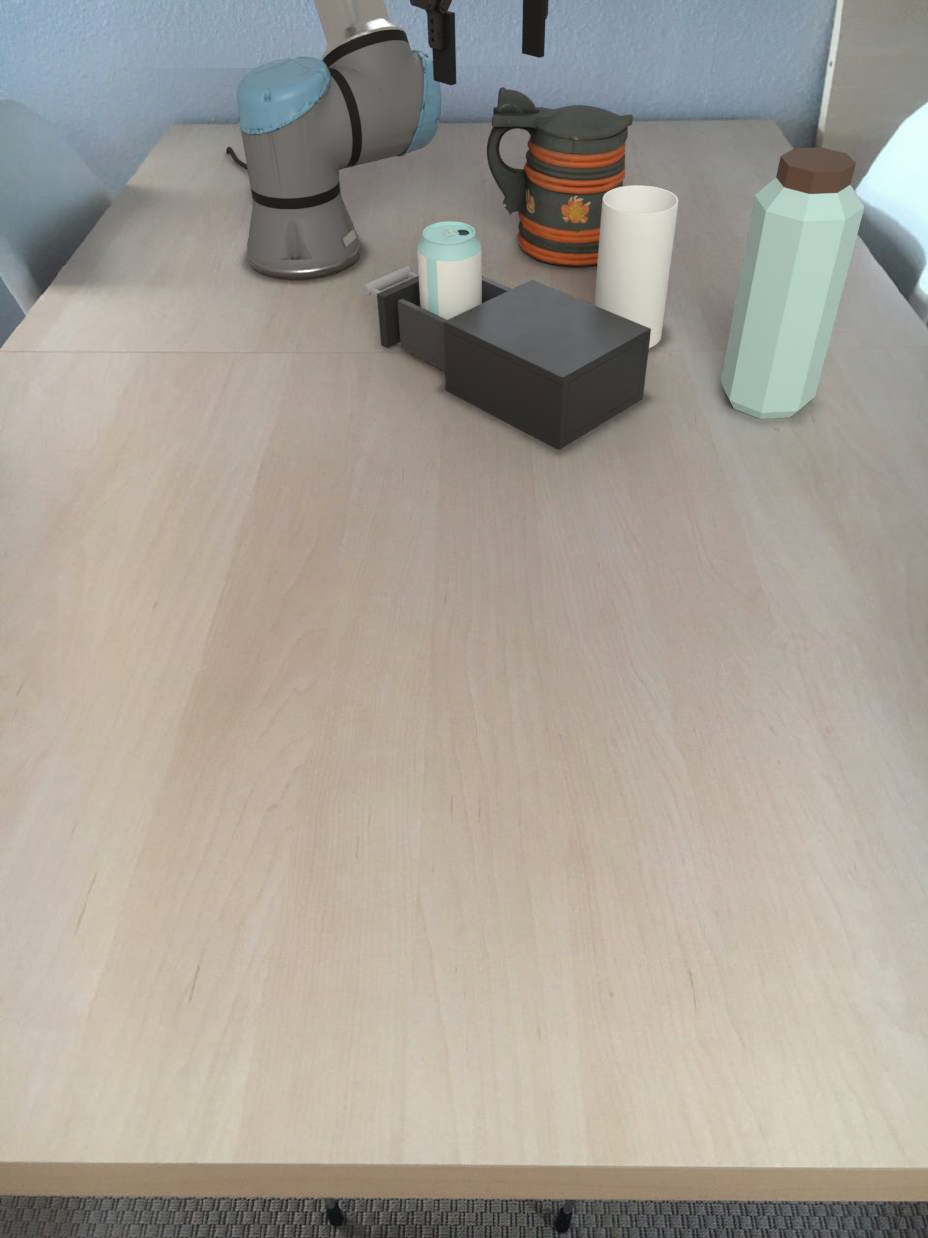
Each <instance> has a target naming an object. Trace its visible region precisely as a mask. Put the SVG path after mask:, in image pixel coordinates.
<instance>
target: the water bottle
mask: <svg viewBox="0 0 928 1238" xmlns="http://www.w3.org/2000/svg"><path fill="white" fill-rule="evenodd" d="M856 165H857V162H856V161H855V160H854V159H853V158H852V157H851V156H850V155H849V154H848V153H847V152H842V151H838V150H834V149H831V148H826V147H794V148H793V149H790V150H788V151H787V152H784V153H783V154H781V155H780V157H779V161H778V166H777V170H776V176H775V177H774V178H773V179H772V180H771V181H770V182H768V183H767V184H766V185H765V186H764V187H763V188H761V189H760V190H759V191H758V192H757V193H755V194H754V196H753V197H754V198H753V202H752V208H751V213H750V220H749V225H748V230H747V236H746V241H745V247H744V253H743V257H742V263H741V268H740V274H739V280H738V285H737V291H736V296H735V302H734V306H733V307H734V308H733V313H732V318H731V324H730V328H729V334H728V340H727V345H726V351H725V356H724V361H723V366H722V373H721V378H720V383H721V385H722V387H723V389H724V392H725V394H726V396H727V398H728V401H729V402H730V404H731V406H732V408H733V409H734V410H735V411H736V410H737V411H739V412H742V413H743V414H747V415H749V416H752V417H754V418H757V419H759V420H768V419H789V418H792V417H793V416H794V415H795V414H796V413H797V412H799V411H800V410H801V409H802V408H803V407H805V406H806V405H807V404H808V403H810V401H811V400H813V399H814V398H815V397H816V395H817V392H818V387H819V383H820V379H821V376H822V371H823V368H824V365H825V364H824V363H825V360H826V356H827V353H828V349H829V344H830V342H831V338H832V333H833V330H834V325H835V323H836V318H837V314H838V310H839V306H840V302H841V298H842V294H843V291H844V287H845V283H846V280H847V275H848V271H849V268H850V264H851V261H852V256H853V252H854V249H855V245H856V242H857V238H858V234H859V231H860V230H859V229H860V226H861V222H862V218H863V215H864V210H865V206H864V204H863V202H862V201H861V199H860V197H859V196H858V195H857V193H856V191H855V189H854V188H853V186H852V185H851V184H852V180H853V176H854V173H855V169H856Z"/></svg>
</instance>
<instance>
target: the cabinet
mask: <svg viewBox="0 0 928 1238" xmlns="http://www.w3.org/2000/svg"><path fill="white" fill-rule="evenodd" d="M650 333H651V329H650V328H648V327H646V326H643V325H641V324H638V323H636V322H633V321H631V320H629V319H626V318H624V317H621V316H619V315H616V314H614V313H612V312H609V311H607V310H604V309H602V308H600V307H597V306H595V305H594V304H592V303H590V302H588V301H585V300H582V299H581V298H578V297H575V296H573V295H570V294H568V293H566V292H564V291H561V290H559V289H556V288H554V287H552V286H548V285H546V284H544V283H541V282H539V281H536V280H534V279H530V280H529V281H526V282H524V283H522V284H519V285H518V286H516V287H514V288H511V290H509V291H507V292H505V293H503V294H501V295H499V296H497V297H495V298H493V299H490V300H488V301H486V302H484V303H482V304H480V305H478V306H476V307H474V308H471V309H469V310H467V311H465V312H463V313H461V314H459V315H457V316H455V317H453V318H450V319H448V320H446V321H444V345H445V370H444V373H445V391H446V392H448V393H450V394H452V395H454V396H455V397H457V398H459V399H461V400H463V401H464V402H467V403H469V404H471V405H473V406H475V407H476V408H478V409H480V410H482V411H484V412H486V413H488V414H490V415H492V416H493V417H495V418H497V419H499V420H501V421H503V422H505V423H506V424H509V425H511V426H512V427H514V428H516V429H518V430H520V431H522V432H524V433H526V434H528V435H530V436H531V437H533V438H535V439H537V440H539V441H541V442H542V443H545V444H546V445H549V446H551V447H553V448H554V449H556V450H557V451H560V450H561V449H563V448H565V447H567V446H568V445H570V444H571V443H573V442H575V441H576V440H578V439H579V438H581V437H582V436H583V437H584V436H585V435H586V434H588V433H589V432H591V431H592V430H594V429H596V428H597V427H599V426H601V425H602V424H604V423H605V422H607V421H609V420H610V419H612V418H614V417H615V416H617V415H618V414H620V413H622V412H624V411H625V410H627V409H628V408H630V407H631V406H633V405H635V404H636V403H638V402H640V401H641V400H643V398H644V390H645V383H646V375H647V367H648V358H649V350H650V348H649V343H650Z"/></svg>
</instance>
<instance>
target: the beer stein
mask: <svg viewBox="0 0 928 1238" xmlns="http://www.w3.org/2000/svg"><path fill="white" fill-rule="evenodd" d="M492 112H493V114H492V117H491V126H492V128H491V130H490V133H489V135H488V138H487V143H486V159H487V165H488V167H489V171H490V174H491V175H492V177H493V179H494V182H495V184H496V186H497V187H498V188H499V190H500V192H501V193H502V195H503V196H504V199H503V201H502V206H503V207H504V209H505V210H507V211H508V213H509V216H511V215H512V214H513V213H515V212H518V218H519V222H518V225H517V227H518V233H517V238H518V242H519V245H520V248H521V249H522V251H523V252H524V253H525V254H526V255H529V256H530V258H532V259H534V260H537V261H539V262H542V263H546V264H550V265H556V266H565V267H581V268H584V267H592V266H597V264H598V251H599V238H600V224H601V212H602V200H603V196H604V195H605V193H607V192H608V191H610V190H612V189H615V188H618V187H623V186H624V180H625V177H626V143H627V142H626V141H627V140H628V136H629V130H628V129H629V128H628V127H630V126H632V125H633V121H634V116H633V115H632V114H625V115H619V114H616V113H615V112H613V111H610V110H607V109H605V108H601V107H597V106H592V105H585V104H573V105H566V106H561V107H557V108H549V107H544V106H543V107H542V106H541V107H540V106H537V107H536V105H535V103H534V102H533V100H532V99H531V98H530V97H529V96H528V95H526V94H524V93H522V92H521V91H518V90H515V89H507V88H505V87H504V86H501V87H500V88H499V90H498V96H497V105H496V106H494V107H493V108H492ZM515 129H518V130H524V131H526V132H527V133H528V134H529V138H528V141H527V145H526V146H527V148H528V150H527V151H526V152H525V160H526V161H525V163H524V164H523V165H524V166H523V169H522V168H516V167H512V166H510V165H509V164H507V163H506V162H505V161H504V160H503V159H502V157H501V151H500V144H501V142H502V141H501V140H502V138H503V137H504V136H505V134H506V133H507V132H509V131H512V130H515Z"/></svg>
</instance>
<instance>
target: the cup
mask: <svg viewBox="0 0 928 1238" xmlns="http://www.w3.org/2000/svg"><path fill="white" fill-rule="evenodd" d="M678 210H679V198H678V197H677V195H676V194H675V193H674V192H672V191H669V190H667V189H665V188H662V187H657V186H653V185H642V184H641V185H640V184H636V185H625V186H624V185H623V187H618V188H615V189H612V190H610V191H608V192H607V193H605V195H604V196H603V200H602V212H601V224H600V238H599V251H598V264H597V265H596V266H597V267H596V277H595V291H594V304H593V305H595V306H597V307H600V308H602V309H604V310H607V311H609V312H612V313H614V314H616V315H619V316H621V317H624V318H626V319H629V320H631V321H633V322H636V323H638V324H641V325H643V326H646V327H648V328H650V329H651V333H650V343H649V349H651V348H652V347H655V346H656V345H658V343H660V341H661V339H662V335H663V327H664V318H665V311H666V304H667V303H666V302H667V296H668V288H669V280H670V271H671V266H672V265H671V263H672V258H673V249H674V241H675V233H676V225H677V219H678Z"/></svg>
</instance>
